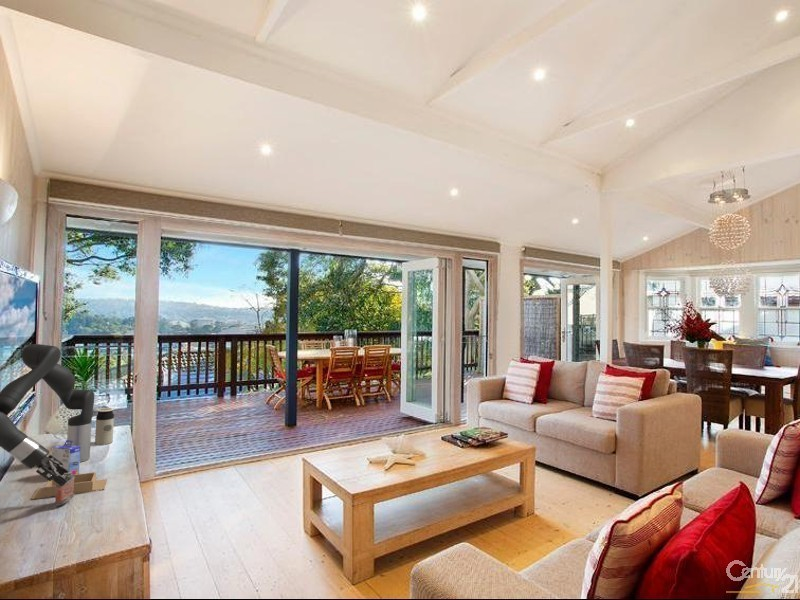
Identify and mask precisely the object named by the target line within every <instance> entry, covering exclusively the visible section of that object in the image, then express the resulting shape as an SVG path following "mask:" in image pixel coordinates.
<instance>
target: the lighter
mask: <svg viewBox="0 0 800 600" xmlns="http://www.w3.org/2000/svg"><path fill="white" fill-rule="evenodd" d="M71 475H72V472H68V473H64V474H63V475H62V477H63V478H64V479H66V480H67V482H66V483H65V484H64V485H63V486H60V485H59V484H58V483H56V496H55V502H54V505H55V506H61V505H63V504H66V503H67V502H69V501H71V500H72V499H73V498H74V495H75V494H73V485H74V479H75V477H74V476H71Z"/></svg>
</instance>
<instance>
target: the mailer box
mask: <svg viewBox="0 0 800 600" xmlns="http://www.w3.org/2000/svg"><path fill="white" fill-rule="evenodd" d="M71 476H74V477H75V479H74V485H73V494H74V495H76V494H83V493H90V491H92V492H97V491H96V490H99V491H102V490H101V489H104V488H105V489H106V486H107V481H108V479H107V478H106V479H105V478H104V479H99V480H98V477H97V472H96V471H93V472H92V471H91V472H84V473H79V474H75V475H71ZM96 479H97V480H96ZM105 485H106V486H105ZM105 489H104V490H105ZM51 496H55V497H56V482H55V481H54V480H53V481H52V480H51V481H48V482H47V483H46V485H45V486H43V487H38V488H37V489H36V490H35V492H34V494H33V496H32V497H31V498H30V499H31V500H37V499H38V500H39V499H46V498H45V497H48V498H52V497H51Z"/></svg>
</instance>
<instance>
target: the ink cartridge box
mask: <svg viewBox="0 0 800 600" xmlns="http://www.w3.org/2000/svg"><path fill="white" fill-rule="evenodd" d="M67 442H70V443H71V444H67ZM72 443H73V441H71V440H67V439H66V440H65V442H64V443H63V444H60V445H57V446H53V447H52V448H51V455H52V456H53V457H55V458H56V459H57V460H59V461H60V462H61V463H63V468H65V469H66V470H67V471H69V472H72V475H75V474H80V463H81V462H80V448H81V446H72ZM57 473H58V472H57ZM58 474H59V473H58ZM59 475H60V474H59ZM60 476H61V475H60Z"/></svg>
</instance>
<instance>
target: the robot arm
mask: <svg viewBox="0 0 800 600" xmlns="http://www.w3.org/2000/svg"><path fill="white" fill-rule="evenodd" d="M21 352H22V353H21V360H22V362H23V364H24V365H25V366H26V367H28V368H29V369H31V370H29V371H28V372H26V373H25V374H23V375H21V376H19V377H17V378H16V379H14V380H12V381H10V382H9V383H8V384H6V385H5V386H4V387H3V388H2V389H1V390H0V448H1V449H3V450H4V451H5V452H7V453H8V454H10V455H11V456H12V457H13V458H14V459H15V460H17V461H18V462H19V463H20V464H23V465H24V466H25V467H26V468H28V469H30V470H31V469H34V467H36V468H38V469H37V470H36V473H37V474H39V475H40V476H42V478H44V479H45V480H47V481H48V482H49V481H51V480H52V481H53V480H54V481H55V482H56V483H58V484H59V485H60V486H63V485H64V484H65V483H66V482H67V480H66V479H64V478H63V477H62V475H63V474H64V473H68V472H69V471H67V470H66V469H65V468H63V463H61V462H60V461H59V460H57V459H56V458H55V457H53V456H52V454H50V450H49V449H47V448H46V447H44V446H43V445H42V444H41V443H39V442H38V441H36V440H35V439H33V438H32V437H29V436H28V435H27V434H26V433H24V432H23V431H21V430H20V429H19V428H18V427H17V426H16V424H15V423H14V421H12V419H11V418H10V417H9V414H10V413H11V412H12V411H14V410H15V409H16V408H17V406H18V405H19V404H20V402H21V401H22V400H23V398H24V397H25V396H26V395H27V394H28V392H30V391H31V389H33V387H34V386H36V385H37V383H39V382H40V381H41V380H43V381H44V382H45V383H46V384H47V385H48V386H49V388H50V389H51V390H53V391H54V392H55V394H56V395H57V396H58V397H59V399H60V401H61V402H62V403H63V405H64V407H65V408H66V409H68V410H74V411H75V410H77V411H78V410H81V411H80V412H81V413H79V414H77V415H75V416H72V417H70V418H68V419H67V435H66V437H67V438H66V440H71V441H73V443H72V446H81V448H80V463H82V462H86V461H88V460H89V459H90V457H91V456H90V455H91V454H90V453H91V440H92V439H91V438H92V419H93V414H94V403H95V394H94V391H93V390H92V389H73V388H74V387H75V384H76V377H75V375H74V374H73V373H72V372H71V370H69V369H68V368H67V367H65V366H63V365H62V364H60V363H59V361H60V359H61V357H62V355H61V354H62V353H61V349H60V348H59V347H58V346H55V345H49V344H42V343H41V344H40V343H34V344H33V343H31V344H29V345H27V346H25V347H24V348H23V350H22V351H21ZM66 444H71V443H70V442H67V443H66ZM57 472H58V473H59V474H60V475H61V476H60V475H59V474H58V473H57ZM51 475H52V476H51Z"/></svg>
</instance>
